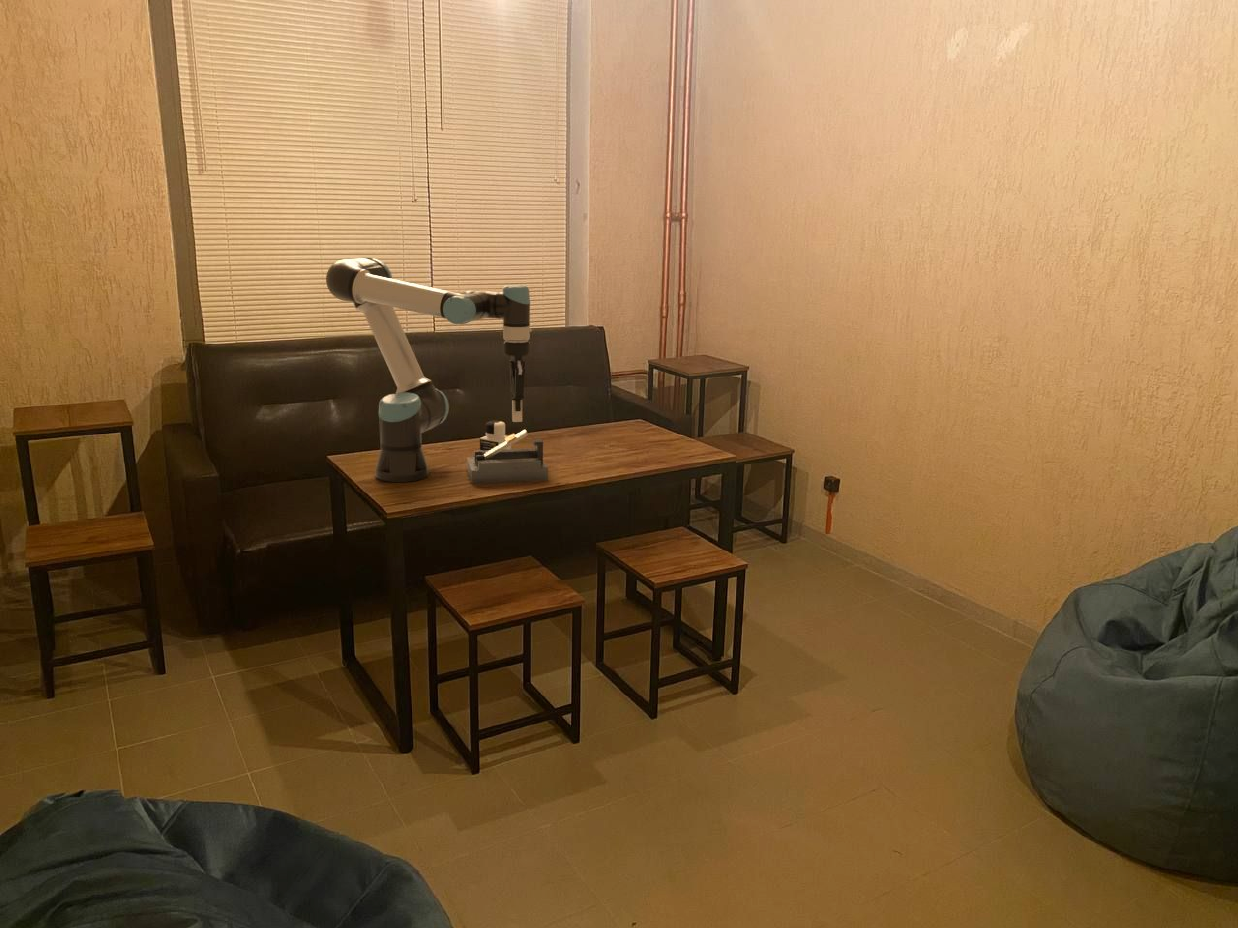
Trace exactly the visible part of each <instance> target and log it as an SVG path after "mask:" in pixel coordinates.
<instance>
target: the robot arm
mask: <svg viewBox="0 0 1238 928" xmlns="http://www.w3.org/2000/svg"><path fill="white" fill-rule="evenodd" d="M392 275H393V274H392V272H391V271H390V269H389V267H388V266H387V265H386V264H385V263H384V262H383V261H381V260H380V259H377V258H372V257H367V256H366V257H361V258H349V259H347V258H346V259H341V260H338V261H335V262H334V263H332V265H330V267H329V268H328V270H327V272H326V276H325V283H326V287H327V289H328V291H329V293H331V295H332V297H334V298H336V299H338V300H340V301H343V302H349V303H350V302H351V303H353V305H354V308H355V309H356V311H358V312H361V313H362V314H363V315H364V317H365V319H366V321H367V323H368V325H369V328H370V330H371V332H372V334H373V336H374V339H375V341H376V343H377V346H378V348H379V349H380V353H381V355H382V357H383V359H384V361H385V363H386V366H387V368H388V371H389V372H390V374H391V377H392V379H393V381H394V384H395V386H396V387H397V388H396V391H395V393H390V394H387V395H385V396H384V397H382V398H381V399H380V400H379V403H378V418H379V419H378V420H379V421H378V422H379V439H380V451H379V455H378V457H377V462H376V465H375V470H374V471H375V472H374V473H375V477H376V478H377V479H378V480H380V481H382V482H383V481H384V482H388V483H389V482H390V483H407V482H415V481H419V480H422V479H425V478H427V477H428V476H429V473H430V472H429V464H428V462H427V459H426V457H425V454H424V451H423V447H422V444H423V443H422V441H423V440H422V434H423V433H425V432H427V431H429V430H432V429H433V430H434V429H435V428H437V427H438V426H439V425H441V424H442V423H444V422H445V420H446V419H447V416H448V414H449V410H450V409H449V408H450V406H449V401H448V398H447V397H446V395H445V393H444V392H443V391H442V390H439V389H438V388H436V387H435V385H434V383H433V381H432V379H429V378H427V377H426V376H424V373H423V371H422V369H421V366H420V364H419V363H418V360H417V358H416V355H415V353H414V351H413V348H412V346H411V344H410V343H409V340H408V338H407V336H406V334H405V331H404V329H403V326H402V324H401V322H400V320H399V317H398V315H397V314H396V311H395V309H400V310H405V311H409V312H414V313H418V314H422V315H428V316H433V317H437V318H441V319H446V320H447V321H448V322H449V323H451V324H454V325H465V324H468V323H471V322H474V321H478V320H482V319H498V320H500V319H501V320H502V321H503V322H502V323H503V325H502V332H503V333H502V337H503V340H504V341H503V354H504V356H510V360H508V365H509V380H510V395H511V397H510V400H511V405H512V406H511V408H512V409H511V419H512V420H511V421H512V422H513V423H518V422H519V423H520V422H521V423H522V422H523V400H524V397H525V396H524V392H525V391H524V390H525V389H524V388H525V373H526V368H525V367H526V365H525V364H526V363H525V361H524V360H523V357H524V356H525V357H526V356H529V355H530V354H531V345H530V344H531V342H530V341H529V340H530V336H531V335H530V334H531V333H532V332H533V329H532V328H530V327H531V326H530V325H531V323H530V321H531V319H530V318H531V299H530V297H531V296H530V288H529V287H528V286H525V285H522V284H512V285H511V284H508V285H507V284H506V285H504V286H503V287H502V291H488V290H487V291H486V290H479V289H476V290H467V291H465V292H464V294H463V293H458V292H454V291H449V290H444V289H440V288H435V287H431V286H427V285H421V284H416V283H412V282H407V281H403V280H398V279H394V278H393V276H392Z"/></svg>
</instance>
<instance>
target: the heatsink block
mask: <svg viewBox="0 0 1238 928" xmlns="http://www.w3.org/2000/svg"><path fill="white" fill-rule="evenodd" d="M531 442H532V444H533V445H534V448H531V447H530V448H515V449H514V448H511V449H506V450H502V451H500V452H498V453H497V454H495V455H493V456H492V457H490V458H488V459H487V460H485V455H483V454H485V453H486V452H488V451H490V450H480V449H479V450H473V456H470V457H469V456H468V457H466V471H467V473H468V476H469V479H470V483H471V485H478V484H498V483H499V484H500V483H517V482H518V483H521V482H522V483H523V482H538V481H539V482H541V481H549V467H548V465H547V463H546V462H545V461H544V441H543V439H541V437H531Z"/></svg>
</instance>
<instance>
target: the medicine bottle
mask: <svg viewBox="0 0 1238 928" xmlns="http://www.w3.org/2000/svg"><path fill="white" fill-rule="evenodd" d="M508 436H509V435H506V424H505V422H503V421H501V420H490V421H487V422H486V423H485V435H484V436H482V437H480V438H479V451H480V450H491V449H493V448H495V447H496V446H498V445H500V444H501V443H503V442H505V441H506V440H505V438H507V437H508ZM506 449H512V445H510V446H508V447H507V448H505V449H503V450H506Z"/></svg>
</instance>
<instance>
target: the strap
mask: <svg viewBox="0 0 1238 928" xmlns="http://www.w3.org/2000/svg"><path fill="white" fill-rule="evenodd" d="M507 436H508V437H507V438H505V440H506V441H505V442H503V443H501V444H500V445H498V446H496V447H495V448H493V449H491V450H490V451H488V452H486V453H485V454H483V455H485V460H487V459H488V458H490V457H492V456H493V455H495V454H497V453H498V452H500V451H502V450H503V449H505V448H507V447H508V446H510V445H511V446H512V445H513V444H515V443H517V442H519V441H521V439H523V438H525V437H527V436H529V433H528V432H527V430H526V429H523V430H521V431H520V432H517V433H516V434H515V433H511V434H510V435H507Z"/></svg>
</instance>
